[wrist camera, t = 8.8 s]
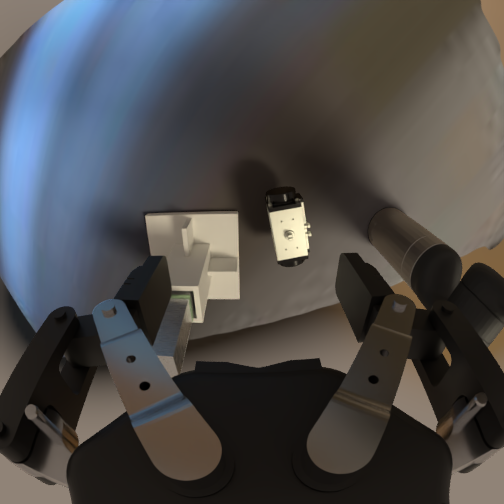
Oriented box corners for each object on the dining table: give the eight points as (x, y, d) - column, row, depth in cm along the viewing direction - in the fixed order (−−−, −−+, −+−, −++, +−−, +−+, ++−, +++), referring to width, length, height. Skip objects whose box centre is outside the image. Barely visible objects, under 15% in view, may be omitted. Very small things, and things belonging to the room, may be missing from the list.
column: (198, 267, 44) (173, 356, 26) (200, 288, 46) (180, 379, 28) (174, 266, 44) (138, 353, 26) (177, 288, 46) (147, 376, 28)
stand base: (238, 211, 48) (234, 250, 34) (239, 294, 56) (238, 351, 42) (147, 213, 48) (111, 251, 33) (161, 293, 56) (139, 346, 41)
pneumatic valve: (273, 243, 51) (280, 276, 40) (261, 182, 46) (266, 201, 35) (301, 237, 51) (316, 269, 40) (292, 177, 46) (307, 193, 35)
